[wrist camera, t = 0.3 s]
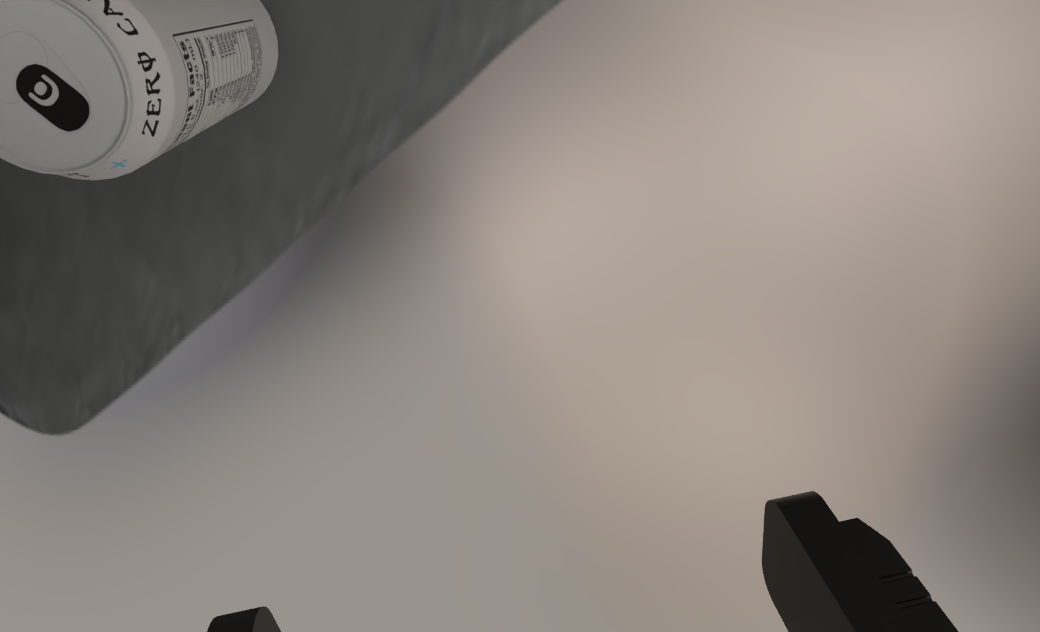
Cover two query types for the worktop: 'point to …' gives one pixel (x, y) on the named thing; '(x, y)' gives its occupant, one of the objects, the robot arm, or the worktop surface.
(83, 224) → the worktop surface
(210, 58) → the energy drink can
